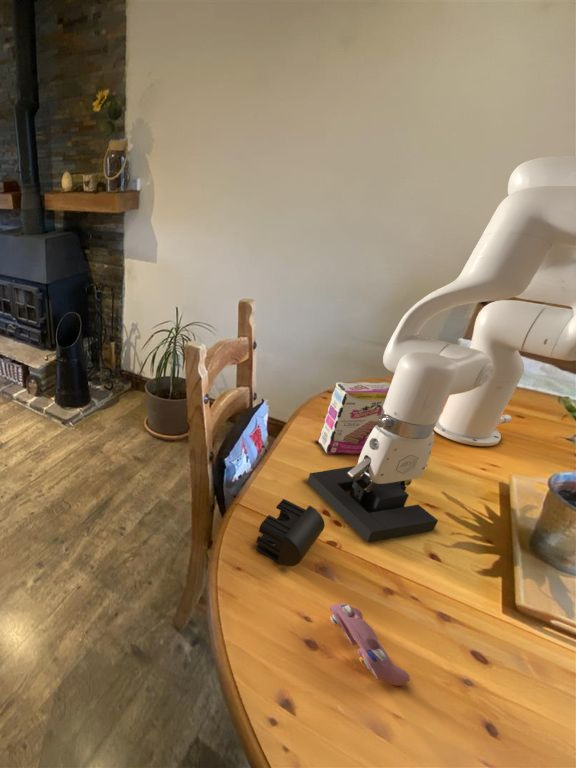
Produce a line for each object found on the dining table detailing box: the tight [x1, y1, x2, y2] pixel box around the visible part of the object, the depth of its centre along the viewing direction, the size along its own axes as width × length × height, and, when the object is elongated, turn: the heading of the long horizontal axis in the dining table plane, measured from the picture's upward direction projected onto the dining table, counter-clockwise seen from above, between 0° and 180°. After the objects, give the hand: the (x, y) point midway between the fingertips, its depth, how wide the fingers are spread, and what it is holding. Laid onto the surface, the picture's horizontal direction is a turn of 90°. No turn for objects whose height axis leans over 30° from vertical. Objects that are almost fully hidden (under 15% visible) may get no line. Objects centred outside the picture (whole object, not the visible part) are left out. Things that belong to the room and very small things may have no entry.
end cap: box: [255, 498, 326, 567], centre depth 72 cm, size 10×7×7 cm
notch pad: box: [307, 465, 439, 543], centre depth 80 cm, size 13×16×2 cm
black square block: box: [349, 476, 410, 513], centre depth 80 cm, size 6×6×4 cm
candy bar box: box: [318, 381, 391, 455], centre depth 92 cm, size 11×5×16 cm, turn 84°
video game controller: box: [328, 602, 411, 687], centre depth 56 cm, size 10×5×7 cm, turn 5°
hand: (375, 499), depth 80 cm, fingers closed on black square block, 6 cm apart
